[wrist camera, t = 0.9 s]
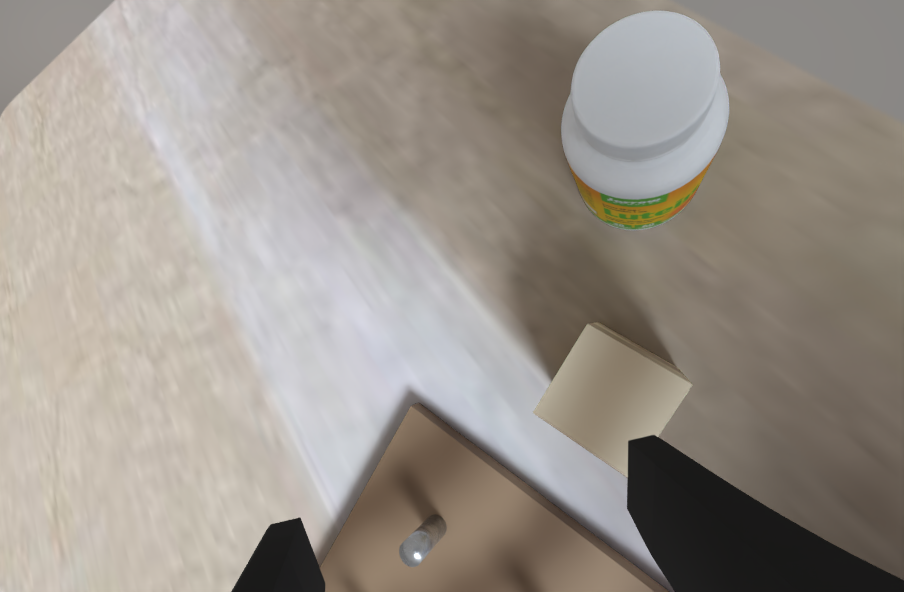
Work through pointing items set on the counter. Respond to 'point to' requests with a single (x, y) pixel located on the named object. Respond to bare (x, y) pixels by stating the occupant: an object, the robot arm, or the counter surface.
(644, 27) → the supplement bottle
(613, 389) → the block
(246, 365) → the counter surface
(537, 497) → the peg board
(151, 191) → the counter surface
